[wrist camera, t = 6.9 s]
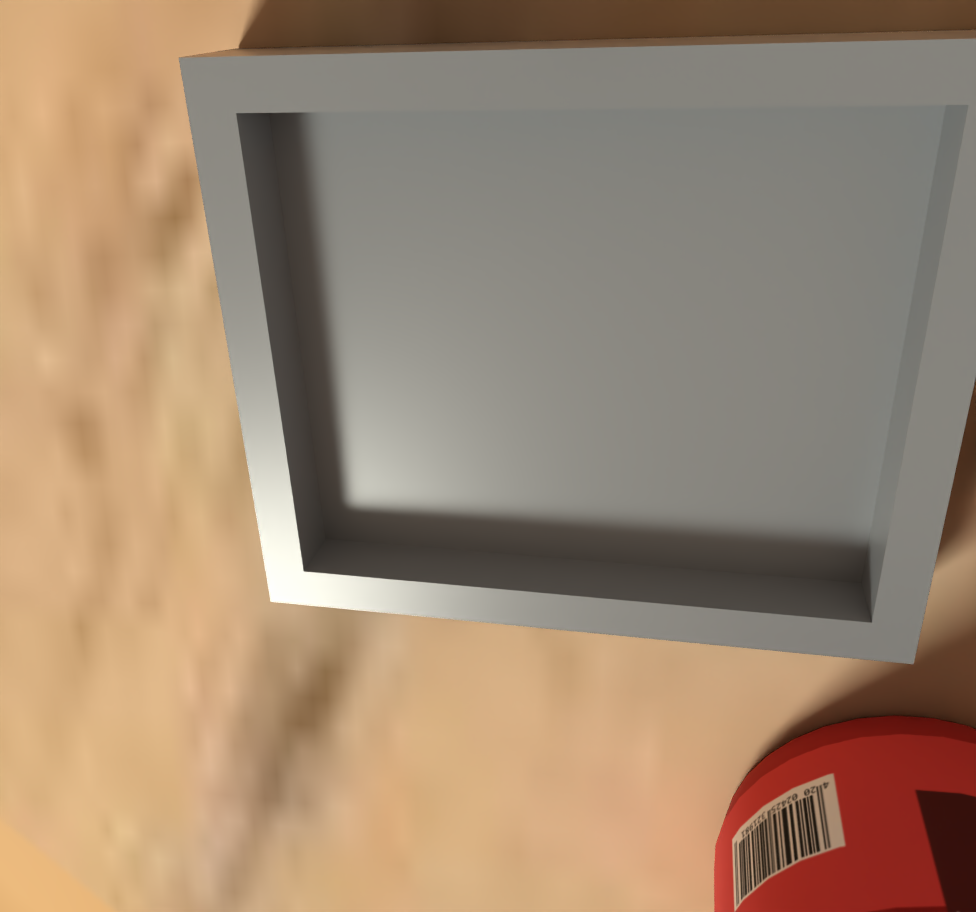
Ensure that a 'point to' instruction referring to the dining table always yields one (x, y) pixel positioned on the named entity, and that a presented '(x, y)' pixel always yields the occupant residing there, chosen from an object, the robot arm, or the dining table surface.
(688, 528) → the tray
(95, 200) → the dining table surface
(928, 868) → the canned food
